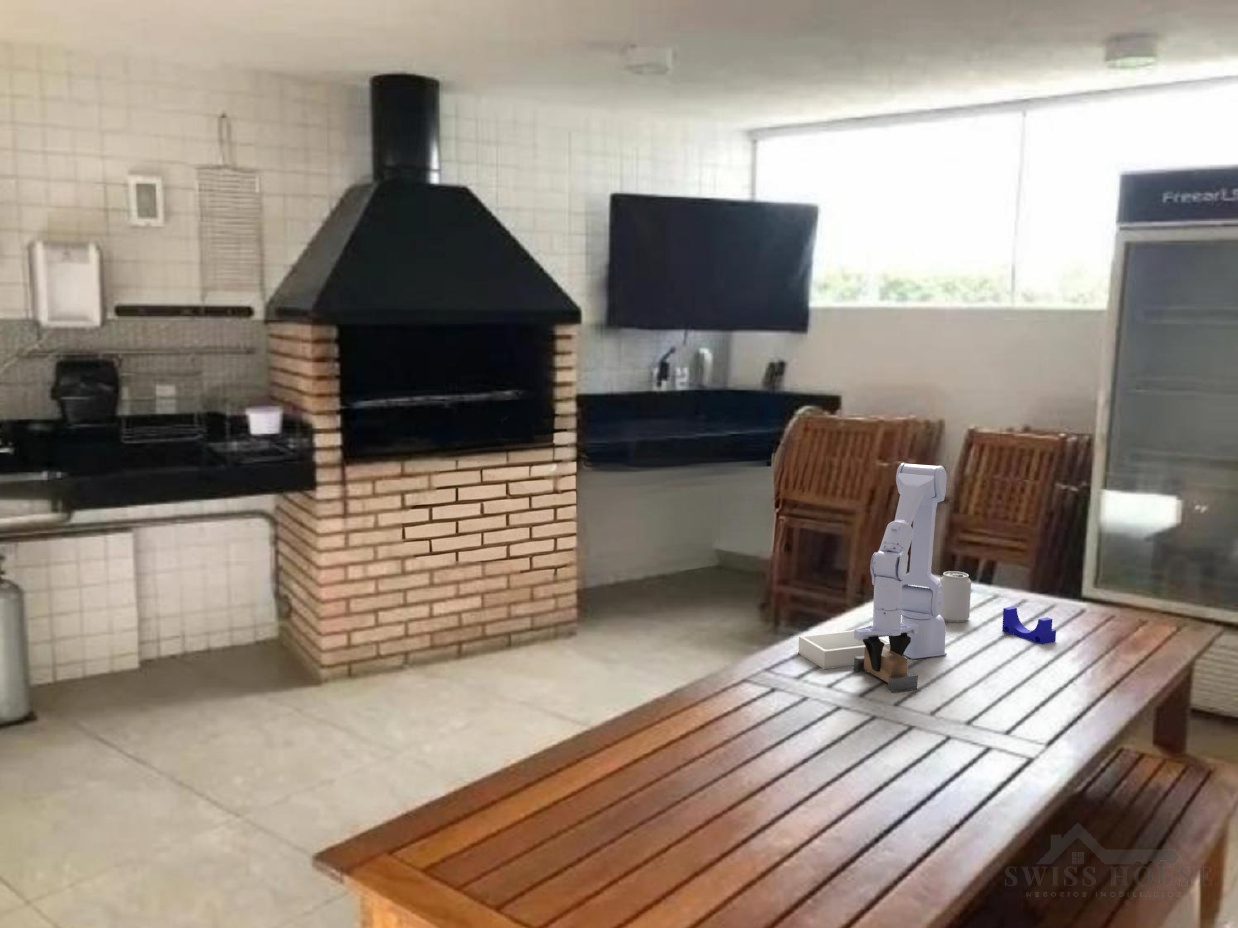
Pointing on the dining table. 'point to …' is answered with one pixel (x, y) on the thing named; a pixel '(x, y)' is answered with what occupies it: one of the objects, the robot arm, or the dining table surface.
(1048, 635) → the blue saddle bracket
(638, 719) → the dining table surface
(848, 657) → the bin
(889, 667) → the wooden block
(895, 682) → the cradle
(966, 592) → the can
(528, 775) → the dining table surface
